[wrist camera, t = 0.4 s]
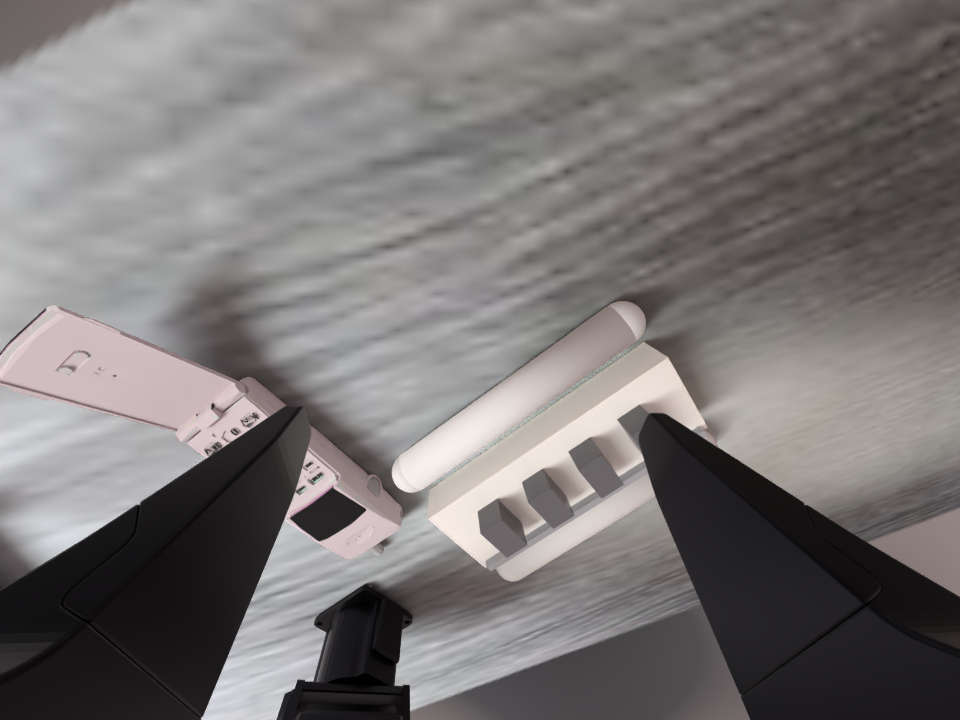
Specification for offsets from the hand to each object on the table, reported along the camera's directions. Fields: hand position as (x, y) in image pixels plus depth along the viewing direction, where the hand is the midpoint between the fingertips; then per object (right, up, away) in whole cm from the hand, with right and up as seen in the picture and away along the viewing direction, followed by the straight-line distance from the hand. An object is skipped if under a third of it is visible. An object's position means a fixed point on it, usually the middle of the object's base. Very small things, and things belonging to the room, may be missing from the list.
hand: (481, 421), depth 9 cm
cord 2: (+2, -1, +17) cm, 17 cm away
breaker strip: (+6, -5, +19) cm, 21 cm away
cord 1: (+10, -10, +22) cm, 26 cm away
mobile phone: (-14, -4, +17) cm, 23 cm away
